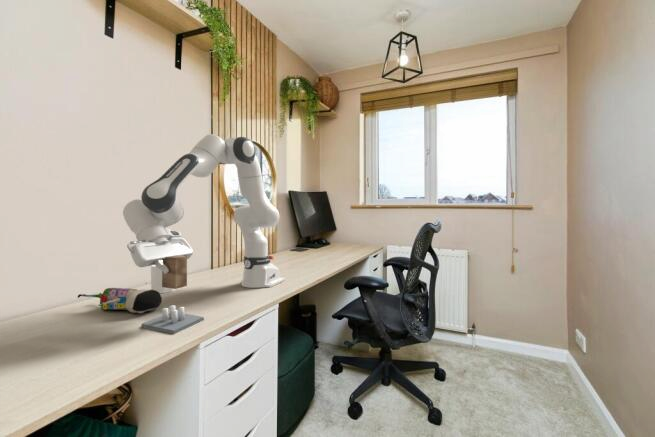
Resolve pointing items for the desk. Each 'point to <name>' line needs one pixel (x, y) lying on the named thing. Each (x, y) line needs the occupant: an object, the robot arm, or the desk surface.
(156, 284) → the toilet paper
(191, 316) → the stand
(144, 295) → the toy
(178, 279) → the block
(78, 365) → the desk surface
